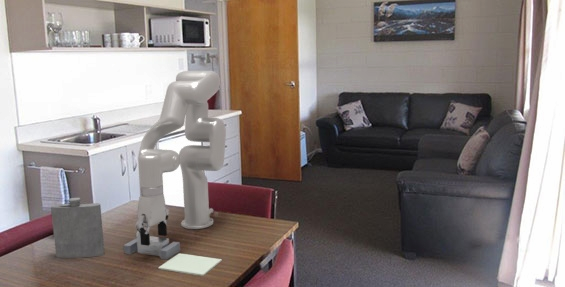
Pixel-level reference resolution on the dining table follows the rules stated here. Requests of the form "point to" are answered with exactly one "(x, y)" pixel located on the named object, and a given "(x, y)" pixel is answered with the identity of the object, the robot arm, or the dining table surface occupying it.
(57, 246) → the hip flask
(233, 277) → the dining table surface
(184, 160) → the robot arm
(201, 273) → the mat
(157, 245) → the white pedestal stand
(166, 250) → the vise jaws
